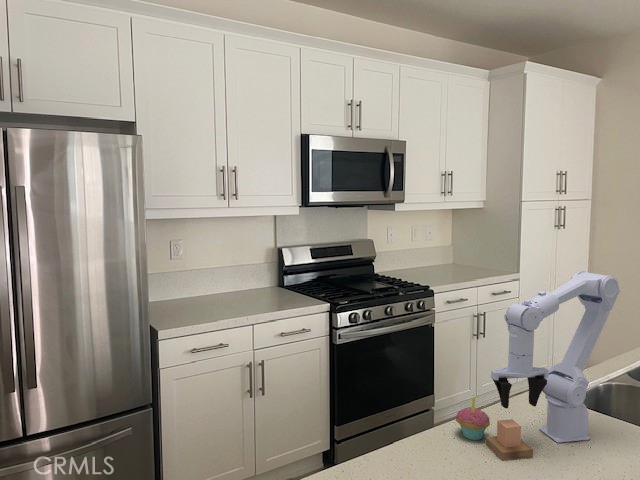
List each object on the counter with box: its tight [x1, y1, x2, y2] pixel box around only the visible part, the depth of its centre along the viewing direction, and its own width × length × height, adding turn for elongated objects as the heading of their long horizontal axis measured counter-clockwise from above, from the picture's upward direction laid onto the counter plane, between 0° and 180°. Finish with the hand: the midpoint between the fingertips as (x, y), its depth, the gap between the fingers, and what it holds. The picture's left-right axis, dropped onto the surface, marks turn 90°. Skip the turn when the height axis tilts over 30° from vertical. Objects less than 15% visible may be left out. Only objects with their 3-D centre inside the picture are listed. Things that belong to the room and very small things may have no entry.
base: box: [485, 435, 534, 461], centre depth 126 cm, size 8×8×2 cm
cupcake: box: [455, 394, 491, 441], centre depth 134 cm, size 9×8×12 cm
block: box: [496, 419, 522, 448], centre depth 126 cm, size 4×4×5 cm
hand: (518, 405), depth 128 cm, fingers open, 7 cm apart
